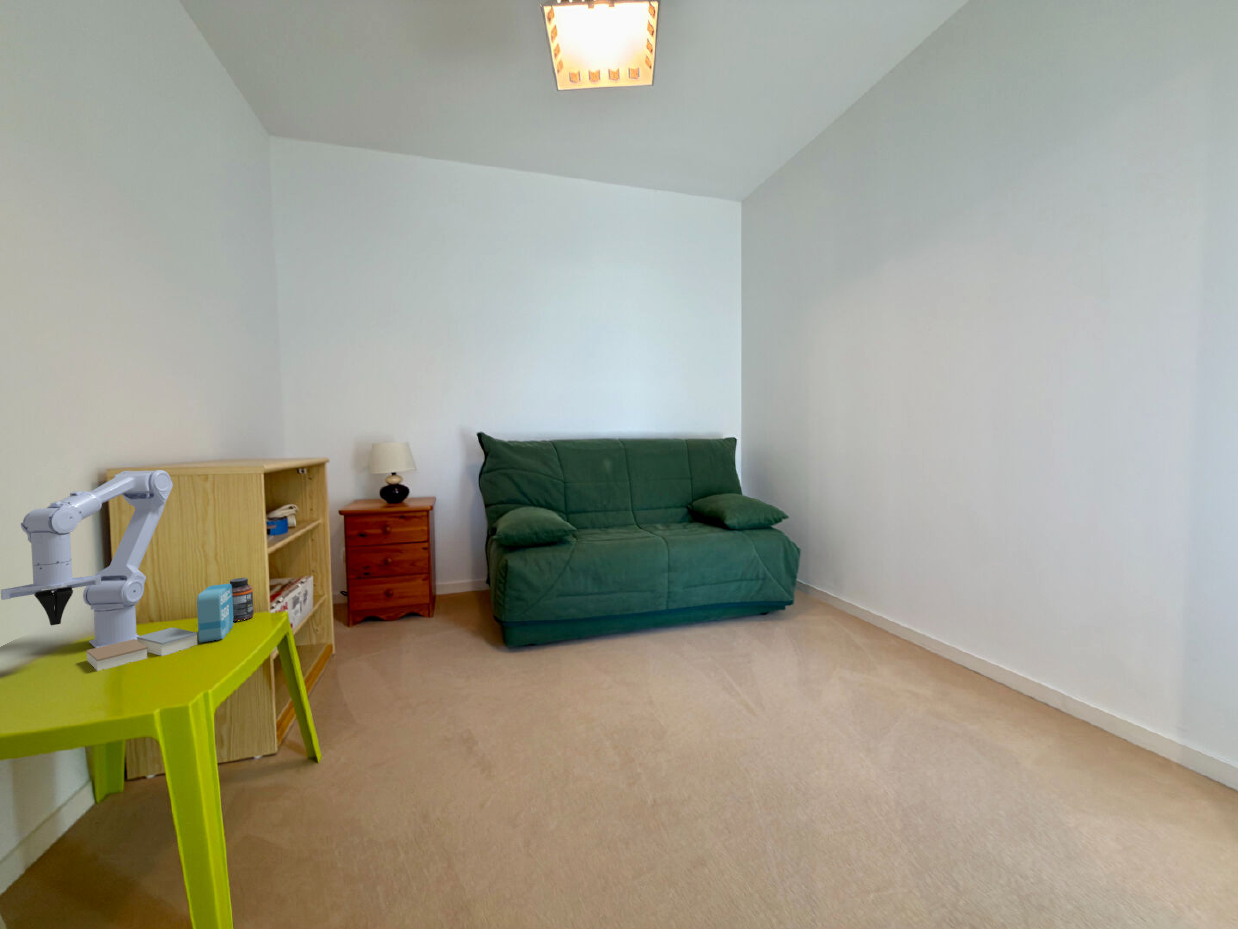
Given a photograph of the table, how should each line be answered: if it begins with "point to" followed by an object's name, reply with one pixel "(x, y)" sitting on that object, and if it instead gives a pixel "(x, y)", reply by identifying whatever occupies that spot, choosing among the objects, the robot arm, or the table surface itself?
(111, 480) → the robot arm
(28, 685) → the table surface
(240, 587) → the supplement bottle
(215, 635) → the blue box
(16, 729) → the table surface
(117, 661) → the book walnut
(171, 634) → the book grey
